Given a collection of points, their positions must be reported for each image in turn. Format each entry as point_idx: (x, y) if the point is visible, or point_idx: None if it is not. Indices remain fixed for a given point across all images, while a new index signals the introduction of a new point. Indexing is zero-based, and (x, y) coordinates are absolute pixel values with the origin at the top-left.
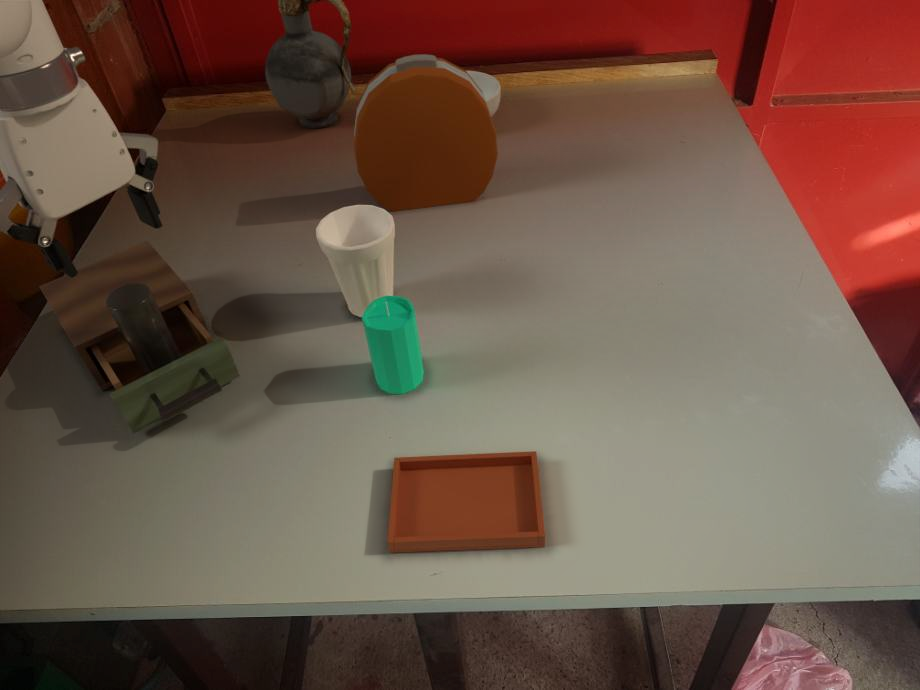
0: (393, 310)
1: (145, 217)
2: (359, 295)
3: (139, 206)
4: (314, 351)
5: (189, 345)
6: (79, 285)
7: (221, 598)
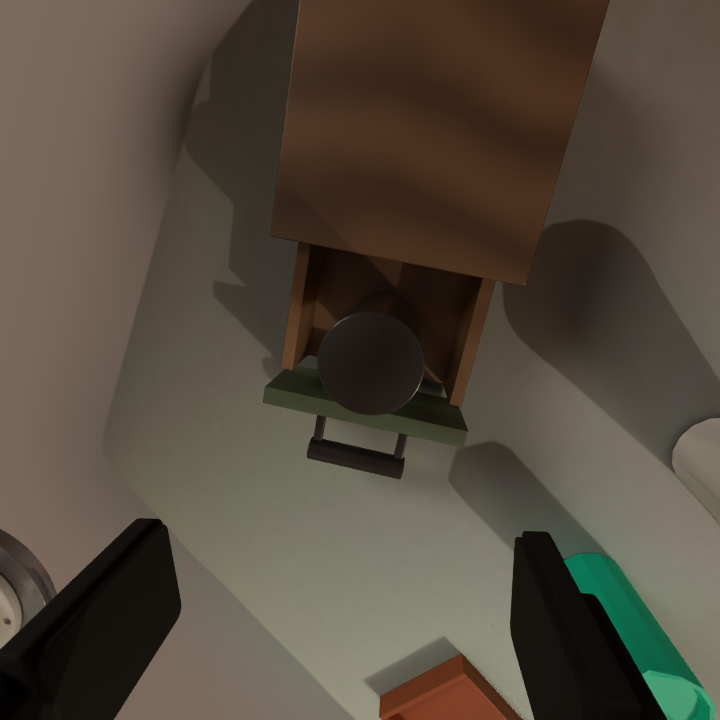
0: (674, 704)
1: (524, 619)
2: (709, 509)
3: (542, 669)
4: (563, 452)
5: (446, 303)
6: (382, 1)
7: (247, 608)
